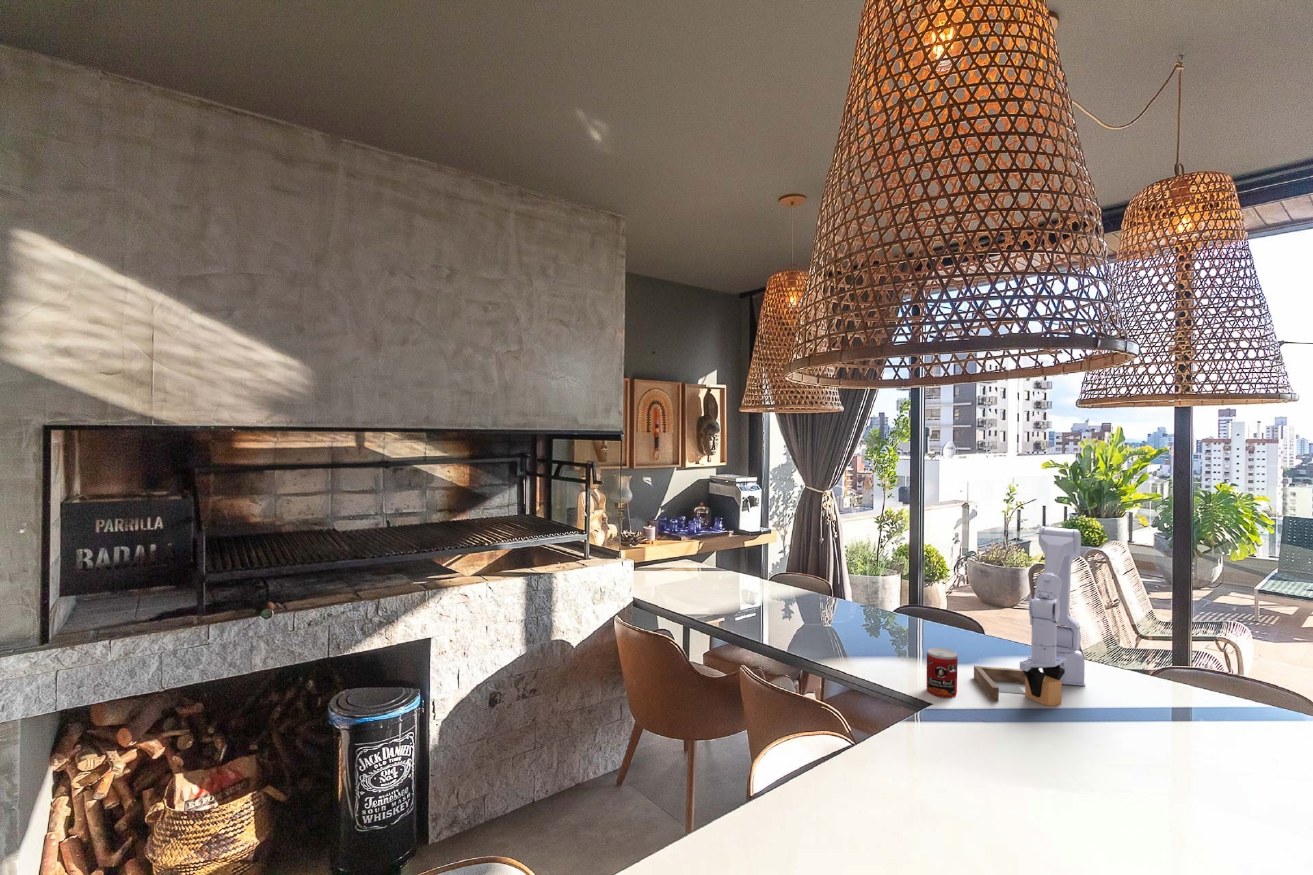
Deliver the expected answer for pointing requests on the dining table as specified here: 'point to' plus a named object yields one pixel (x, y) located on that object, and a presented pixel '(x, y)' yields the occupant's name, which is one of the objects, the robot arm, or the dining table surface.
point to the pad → (1009, 687)
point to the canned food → (942, 672)
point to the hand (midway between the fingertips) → (1043, 694)
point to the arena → (996, 678)
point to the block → (1046, 691)
